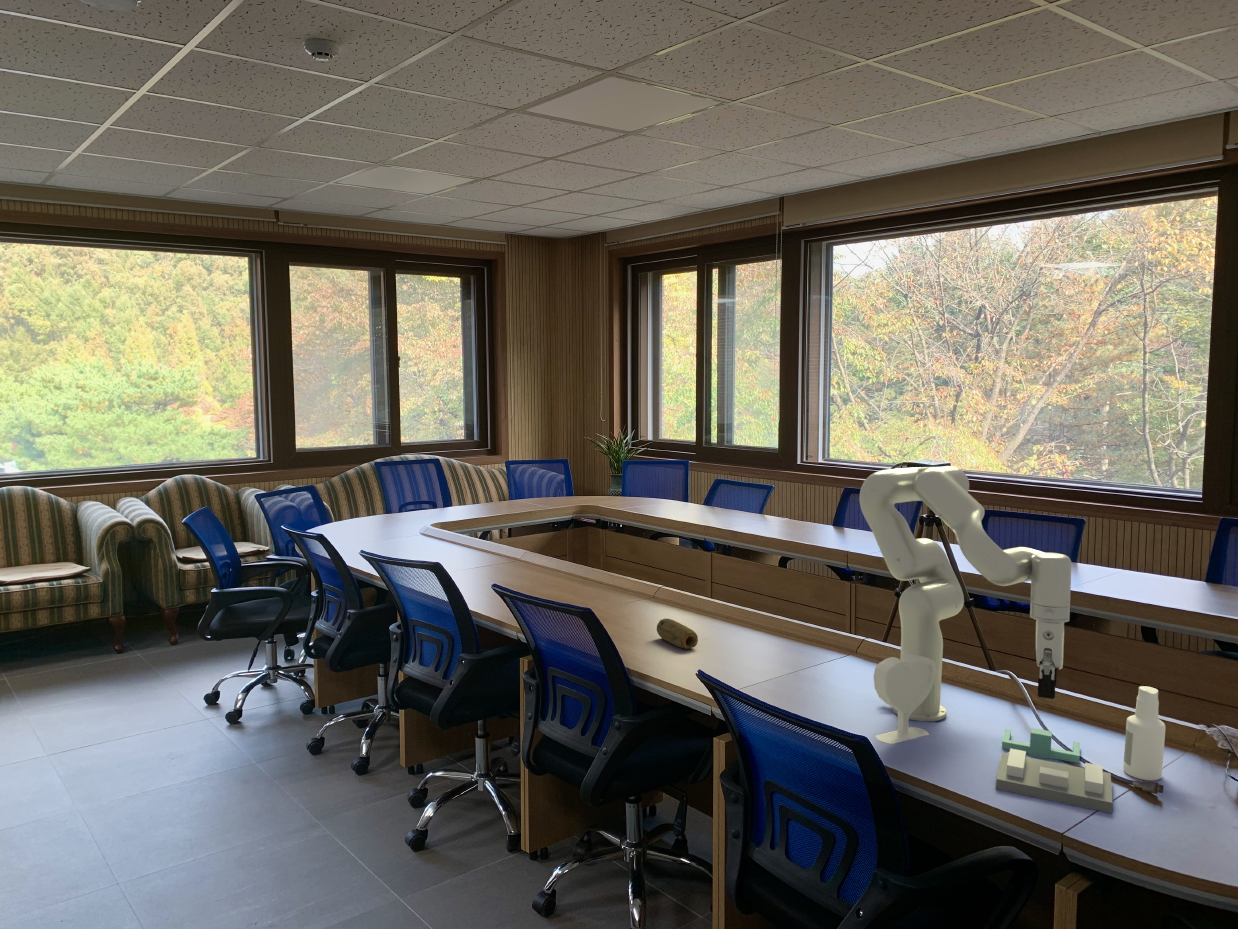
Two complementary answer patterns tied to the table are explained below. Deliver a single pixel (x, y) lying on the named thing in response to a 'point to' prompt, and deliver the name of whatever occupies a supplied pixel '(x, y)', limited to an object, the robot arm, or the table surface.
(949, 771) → the table surface
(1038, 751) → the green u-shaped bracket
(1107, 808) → the stand
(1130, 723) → the white bottle
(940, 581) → the robot arm
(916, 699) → the heart sculpture
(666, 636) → the stone weight
